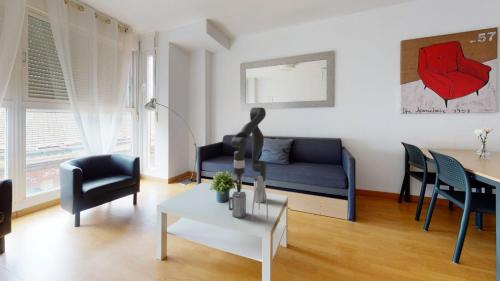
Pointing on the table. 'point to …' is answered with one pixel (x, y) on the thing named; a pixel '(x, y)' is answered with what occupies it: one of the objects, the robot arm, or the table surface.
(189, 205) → the table surface
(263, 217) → the table surface
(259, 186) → the juicer
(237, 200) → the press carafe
